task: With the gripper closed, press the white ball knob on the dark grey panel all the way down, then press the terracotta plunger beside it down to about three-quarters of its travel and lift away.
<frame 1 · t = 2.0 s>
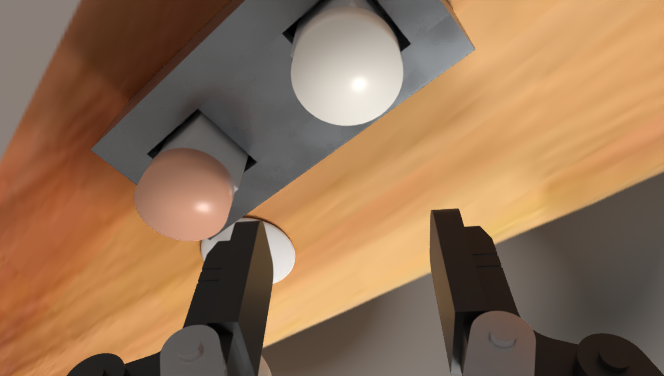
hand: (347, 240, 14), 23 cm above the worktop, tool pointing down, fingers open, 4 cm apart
plunger panel: (281, 58, 35), on the worktop
white ball knob: (346, 48, 26), point 9 cm above the worktop, slide at 0.0 cm
wineglass: (249, 251, 47), on the worktop
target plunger: (196, 171, 31), point 9 cm above the worktop, slide at 0.0 cm
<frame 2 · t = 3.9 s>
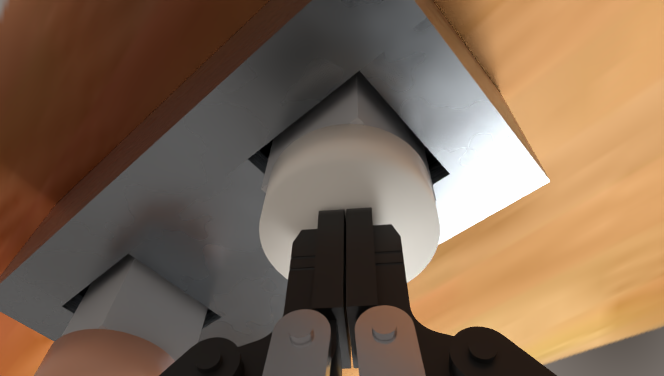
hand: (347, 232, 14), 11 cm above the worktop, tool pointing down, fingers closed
plunger panel: (258, 154, 26), on the worktop
white ball knob: (349, 169, 17), point 7 cm above the worktop, slide at 1.3 cm, touching gripper
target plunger: (129, 339, 21), point 9 cm above the worktop, slide at 0.0 cm
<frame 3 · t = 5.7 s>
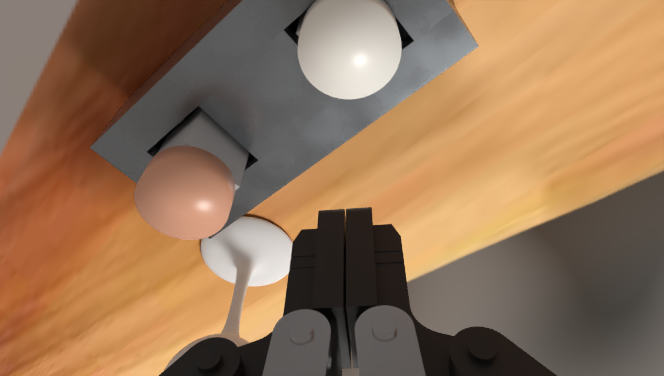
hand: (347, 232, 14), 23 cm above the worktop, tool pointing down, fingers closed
plunger panel: (281, 55, 35), on the worktop
white ball knob: (348, 28, 28), point 6 cm above the worktop, slide at 2.6 cm
wineglass: (249, 250, 46), on the worktop
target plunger: (197, 169, 31), point 8 cm above the worktop, slide at 0.0 cm
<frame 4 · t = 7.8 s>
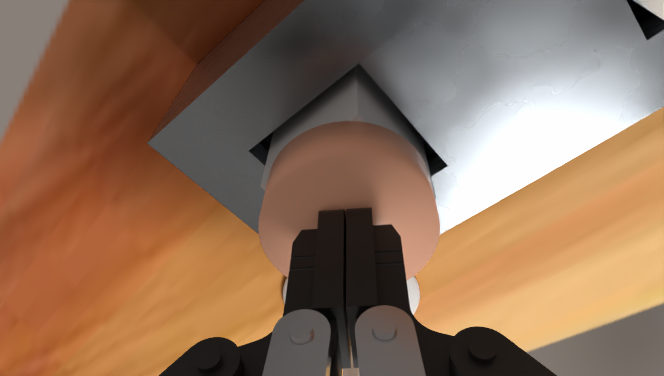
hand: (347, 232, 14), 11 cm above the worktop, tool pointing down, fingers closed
wineglass: (351, 293, 32), on the worktop
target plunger: (348, 167, 17), point 8 cm above the worktop, slide at 1.0 cm, touching gripper
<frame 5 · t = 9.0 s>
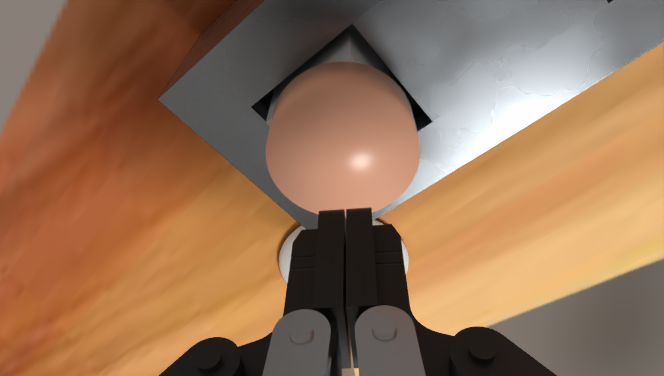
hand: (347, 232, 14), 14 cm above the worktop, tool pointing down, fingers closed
wineglass: (343, 260, 34), on the worktop
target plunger: (342, 109, 20), point 7 cm above the worktop, slide at 1.9 cm
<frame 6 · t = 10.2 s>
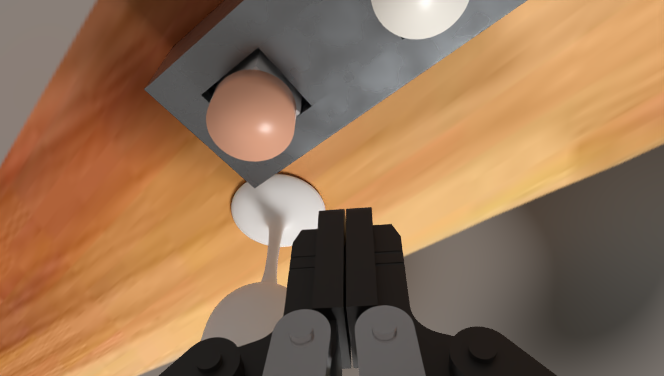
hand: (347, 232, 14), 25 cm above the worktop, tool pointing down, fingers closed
plunger panel: (330, 7, 36), on the worktop
wineglass: (278, 209, 47), on the worktop
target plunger: (257, 97, 32), point 7 cm above the worktop, slide at 1.9 cm
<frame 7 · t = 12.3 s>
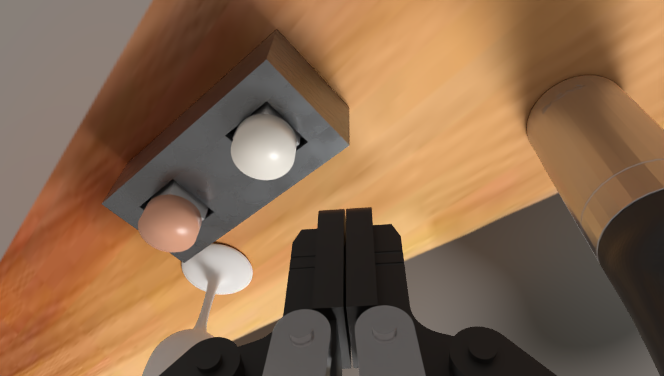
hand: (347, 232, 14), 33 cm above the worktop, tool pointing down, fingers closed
plunger panel: (233, 136, 51), on the worktop
white ball knob: (268, 132, 44), point 6 cm above the worktop, slide at 2.6 cm
wineglass: (217, 267, 62), on the worktop
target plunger: (178, 206, 48), point 7 cm above the worktop, slide at 1.9 cm
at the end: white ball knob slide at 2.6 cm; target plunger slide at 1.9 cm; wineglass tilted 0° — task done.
